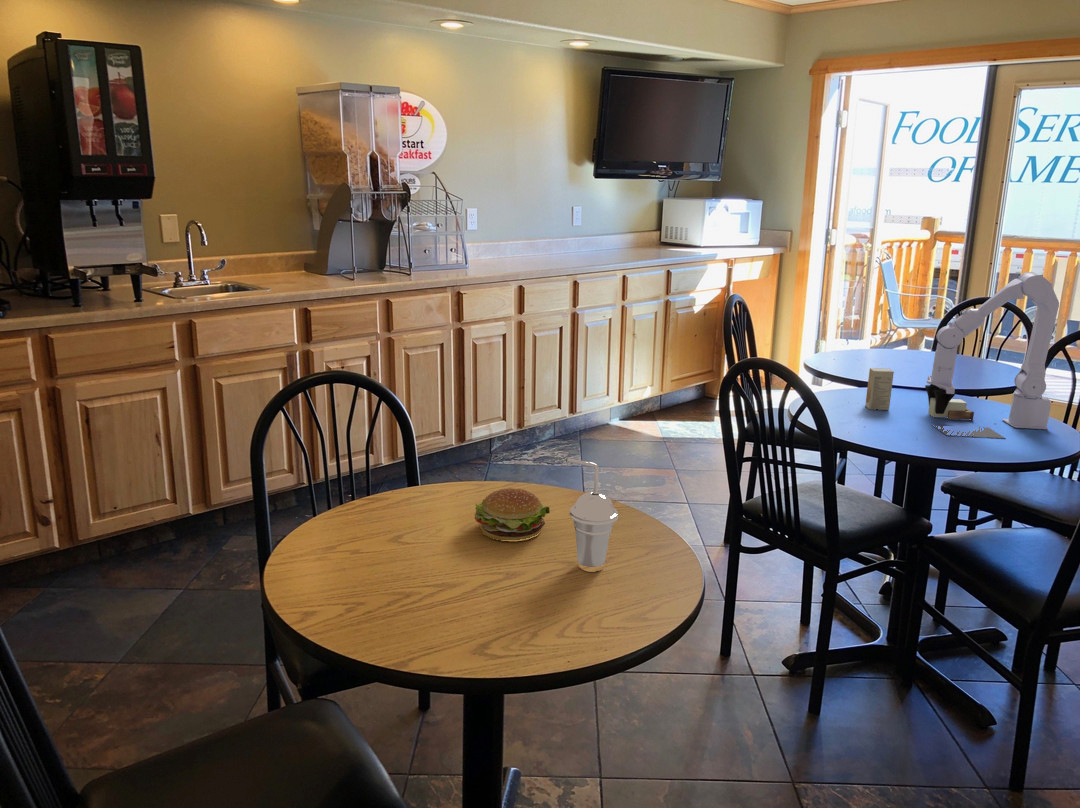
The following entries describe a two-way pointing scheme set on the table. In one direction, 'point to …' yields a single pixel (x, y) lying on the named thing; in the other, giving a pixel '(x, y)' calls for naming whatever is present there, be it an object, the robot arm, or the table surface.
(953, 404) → the block
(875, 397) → the skincare box
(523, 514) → the food
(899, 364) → the table surface
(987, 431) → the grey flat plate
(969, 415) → the frame
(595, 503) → the cup with straw
